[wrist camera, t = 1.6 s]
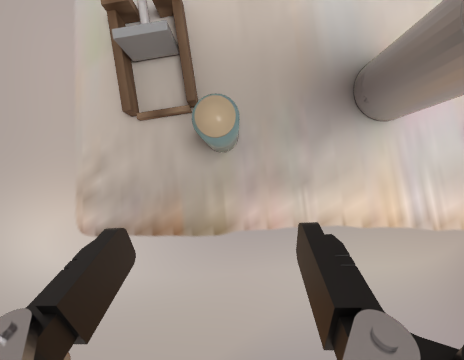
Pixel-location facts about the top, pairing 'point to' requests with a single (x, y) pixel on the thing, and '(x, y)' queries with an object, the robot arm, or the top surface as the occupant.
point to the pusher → (146, 37)
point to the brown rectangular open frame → (119, 13)
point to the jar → (217, 121)
